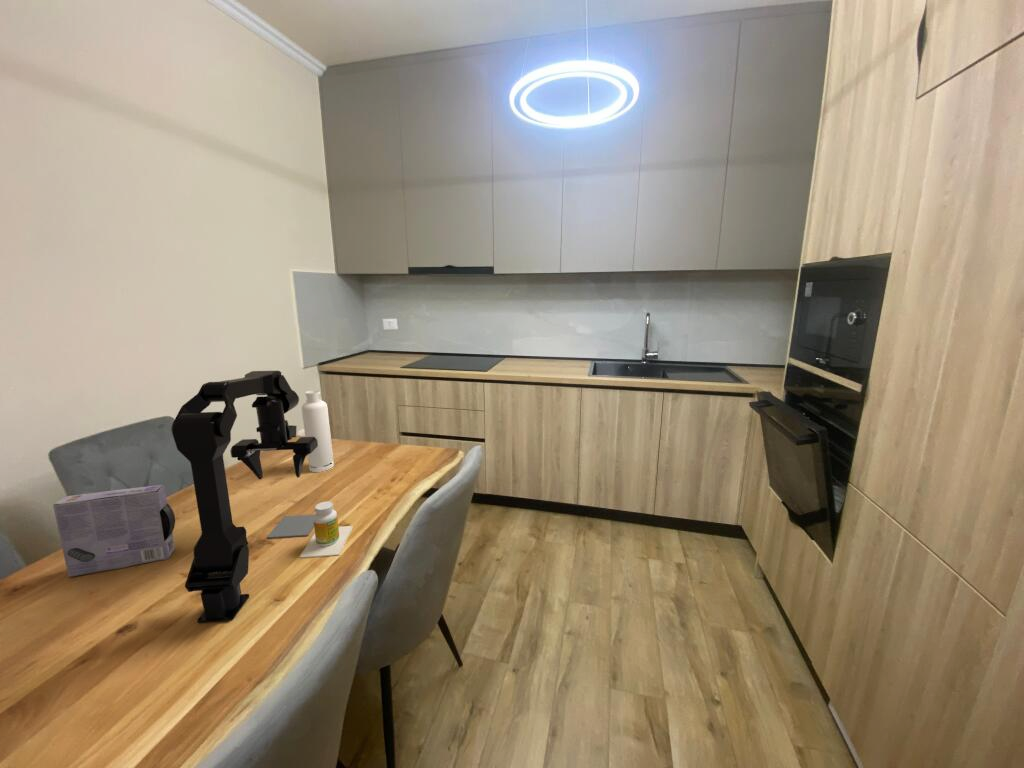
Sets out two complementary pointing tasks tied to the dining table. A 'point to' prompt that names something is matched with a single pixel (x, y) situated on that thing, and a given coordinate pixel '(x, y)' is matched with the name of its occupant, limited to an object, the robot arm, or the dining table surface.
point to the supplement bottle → (325, 524)
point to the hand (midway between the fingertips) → (279, 477)
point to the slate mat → (293, 526)
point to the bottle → (318, 431)
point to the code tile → (330, 550)
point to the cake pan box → (115, 529)
